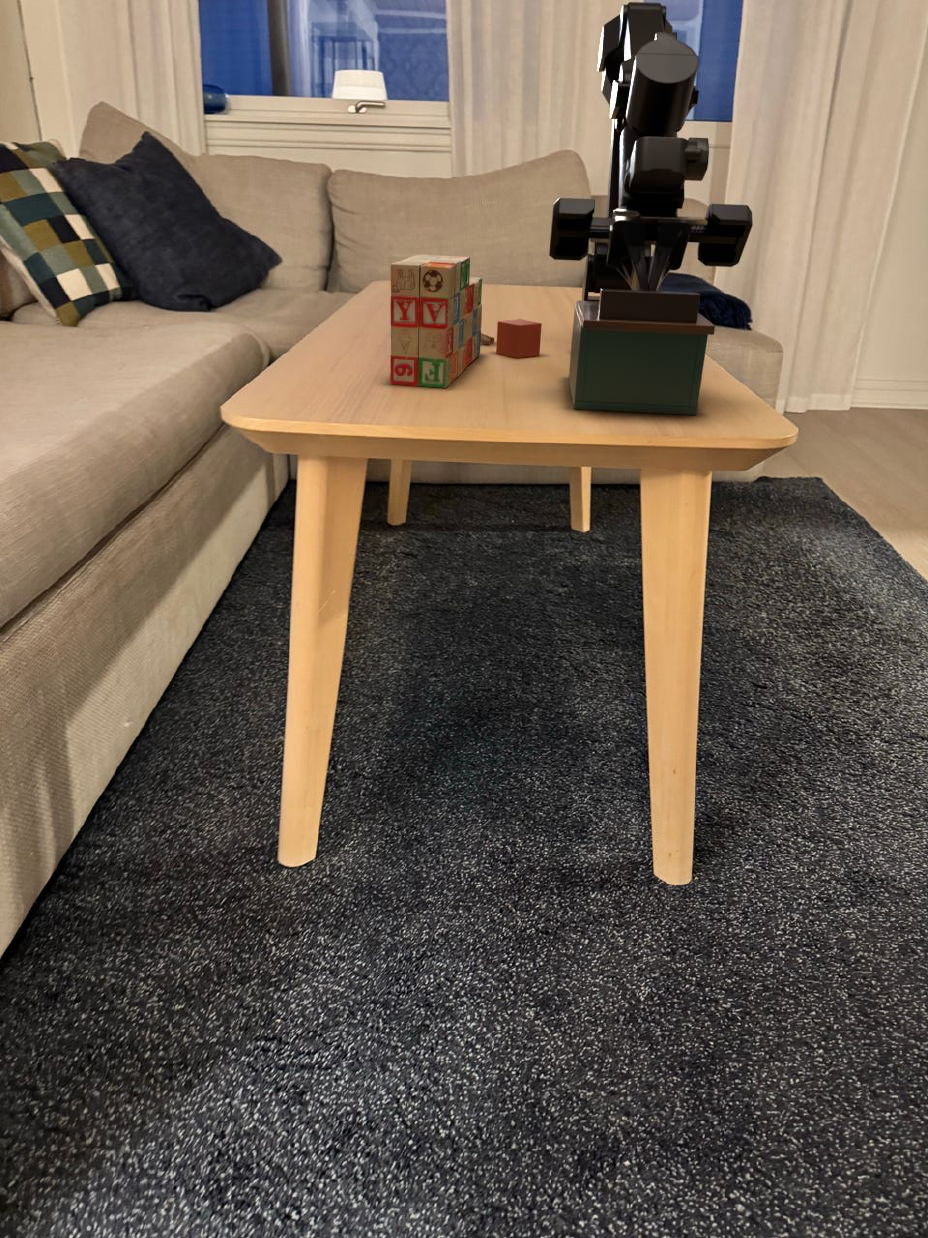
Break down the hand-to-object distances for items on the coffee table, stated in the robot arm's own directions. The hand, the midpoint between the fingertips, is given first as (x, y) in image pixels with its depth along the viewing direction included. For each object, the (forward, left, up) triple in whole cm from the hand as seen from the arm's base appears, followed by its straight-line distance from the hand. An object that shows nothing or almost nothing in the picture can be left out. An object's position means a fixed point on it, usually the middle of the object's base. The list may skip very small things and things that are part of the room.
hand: (647, 303), depth 85 cm
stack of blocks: (+2, -27, -10) cm, 29 cm away
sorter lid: (-3, -3, -2) cm, 5 cm away
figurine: (-11, -43, -10) cm, 46 cm away
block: (-12, -29, -10) cm, 33 cm away
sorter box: (-5, -5, -10) cm, 13 cm away
